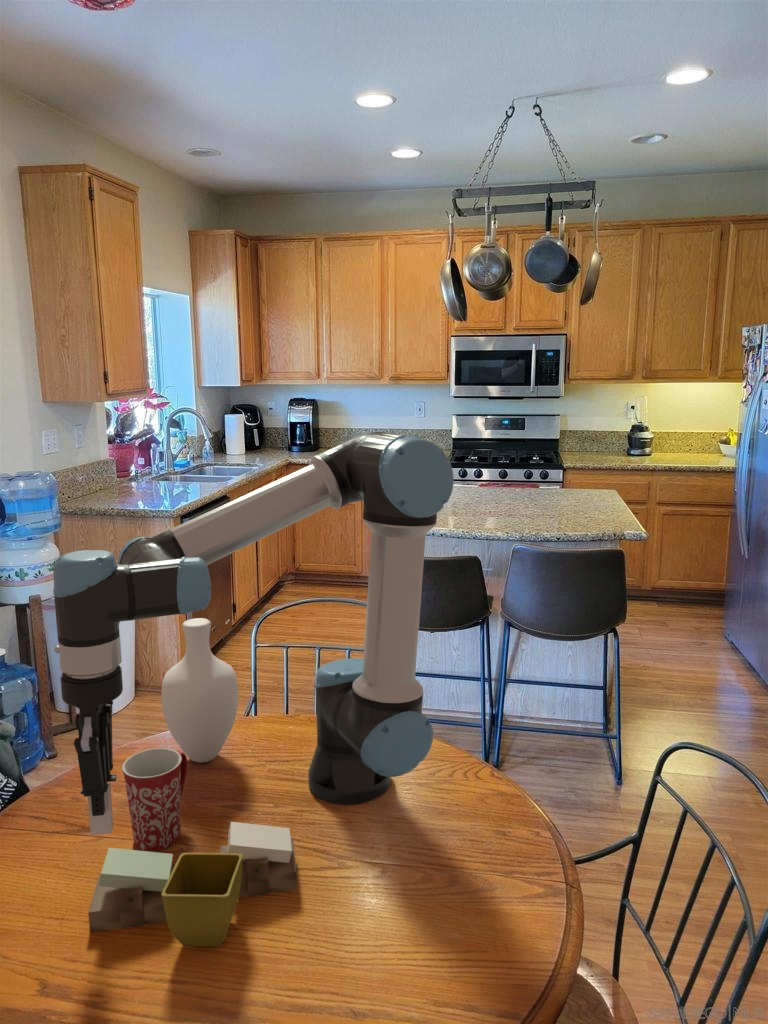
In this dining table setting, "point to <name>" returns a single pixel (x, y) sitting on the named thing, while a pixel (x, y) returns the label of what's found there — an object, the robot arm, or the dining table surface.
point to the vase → (199, 696)
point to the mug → (155, 796)
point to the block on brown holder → (266, 875)
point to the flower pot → (202, 897)
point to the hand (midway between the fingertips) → (102, 830)
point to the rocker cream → (260, 841)
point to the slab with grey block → (125, 907)
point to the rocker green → (136, 869)
